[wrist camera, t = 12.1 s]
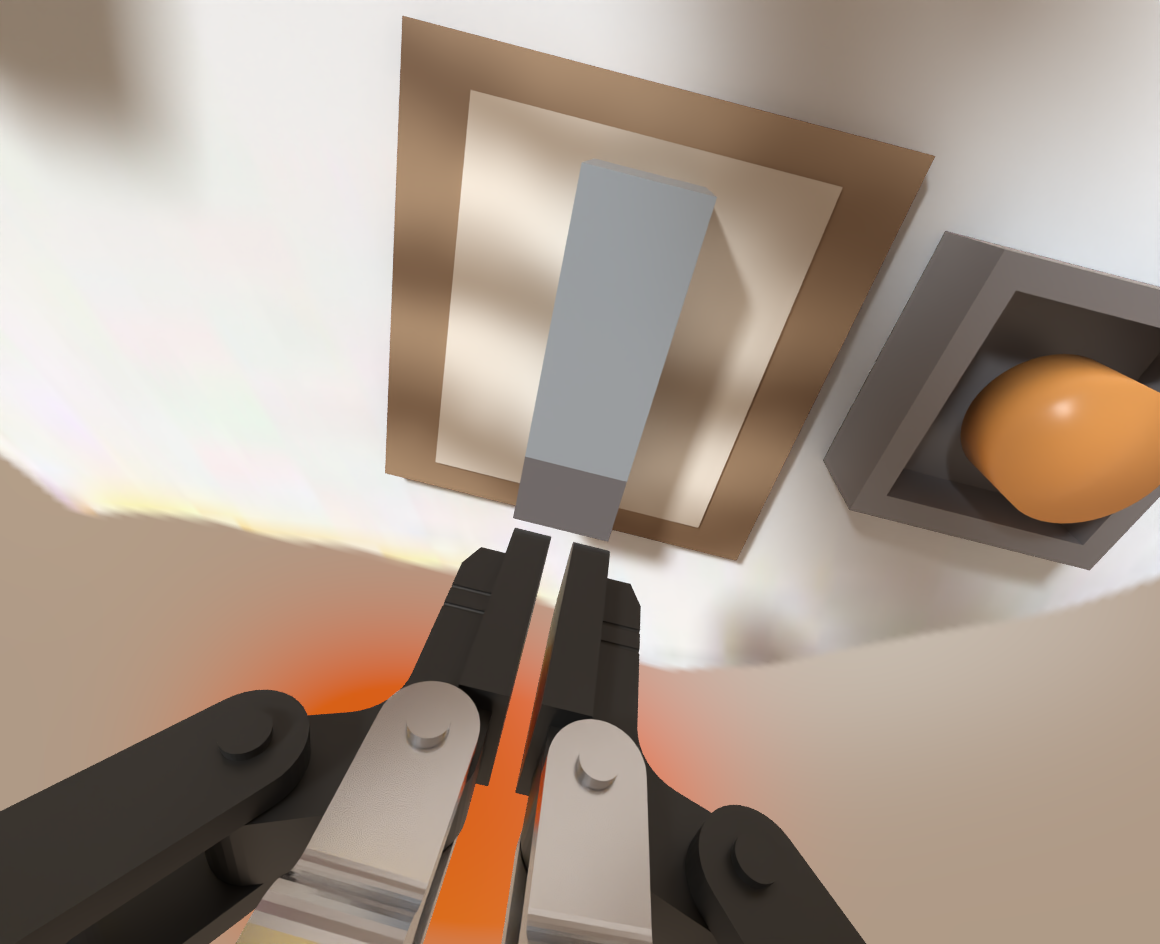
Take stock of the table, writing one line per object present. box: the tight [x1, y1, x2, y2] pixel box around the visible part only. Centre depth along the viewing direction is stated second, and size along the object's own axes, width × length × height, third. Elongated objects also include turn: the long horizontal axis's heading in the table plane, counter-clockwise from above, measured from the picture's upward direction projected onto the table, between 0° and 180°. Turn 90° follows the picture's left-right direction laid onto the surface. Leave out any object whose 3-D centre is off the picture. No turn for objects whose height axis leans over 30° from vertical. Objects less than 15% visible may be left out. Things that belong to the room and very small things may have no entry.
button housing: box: [823, 231, 1160, 570], centre depth 21 cm, size 10×10×4 cm
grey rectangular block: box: [513, 158, 717, 541], centre depth 21 cm, size 13×4×4 cm, turn 168°
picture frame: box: [385, 16, 935, 560], centre depth 23 cm, size 18×18×1 cm
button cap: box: [960, 354, 1160, 523], centre depth 19 cm, size 5×5×3 cm
